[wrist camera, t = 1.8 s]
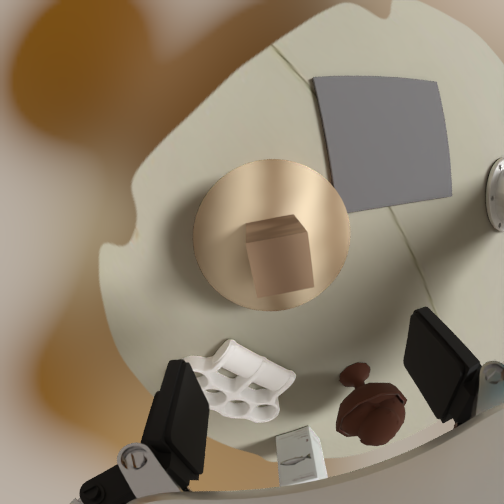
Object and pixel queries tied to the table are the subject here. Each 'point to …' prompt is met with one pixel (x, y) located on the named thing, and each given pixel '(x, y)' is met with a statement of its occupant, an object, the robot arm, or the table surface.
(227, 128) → the table surface
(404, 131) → the rubber mat
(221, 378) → the white holed part
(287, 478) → the supplement box
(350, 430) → the ice cream bowl
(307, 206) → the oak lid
